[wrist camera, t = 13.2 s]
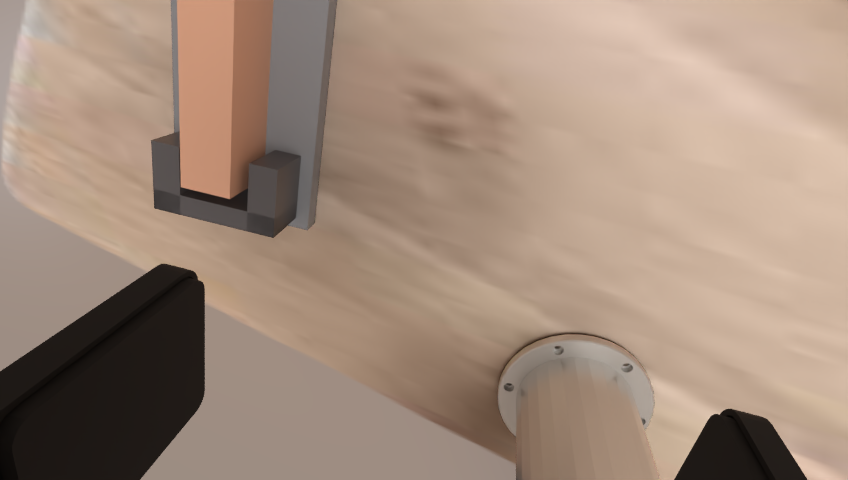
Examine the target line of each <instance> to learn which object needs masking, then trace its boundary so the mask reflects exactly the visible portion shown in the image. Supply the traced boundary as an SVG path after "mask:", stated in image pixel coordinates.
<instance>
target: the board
mask: <svg viewBox="0 0 848 480" xmlns="http://www.w3.org/2000/svg"><path fill="white" fill-rule="evenodd" d="M336 5H337V0H274V1H273V19H272V38H271V57H270V75H269V94H268V113H267V131H266V150H265V155H267V154H268V153H270V152H272V151H274V150H278V151H282V152H286V153H291V154H295V155H299V156H301V164H300V176H299V188H298V200H297V212H296V218H295V219H294V220H293V221H292V222H291V223H290V224H288V226H292V227H296V228H301V229H305V230H308V229H309V228H310V227H311V226H312V225H313V224H314V222H315V212H316V202H317V193H318V183H319V173H320V163H321V153H322V143H323V133H324V123H325V113H326V104H327V94H328V84H329V74H330V64H331V54H332V44H333V34H334V24H335V15H336ZM171 21H172V59H173V97H174V133H176V132H179V131H180V123H179V74H178V25H177V0H171Z"/></svg>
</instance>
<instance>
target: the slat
mask: <svg viewBox="0 0 848 480" xmlns="http://www.w3.org/2000/svg"><path fill="white" fill-rule="evenodd" d="M273 1H274V0H177V25H178V74H179V123H180V171H181V187H182V188H186V189H190V190H194V191H199V192H203V193H207V194H211V195H215V196H219V197H223V198H227V199H231V198H232V197H234V196H236V195H237V194H239V193H241V192H242V191H244V190H246V189H247V188H248V179H249V163H251V162H253V161H255V160H257V159H259V158H261V157H263V156H265V150H266V131H267V113H268V94H269V75H270V57H271V38H272V19H273Z"/></svg>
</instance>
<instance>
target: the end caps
mask: <svg viewBox="0 0 848 480" xmlns="http://www.w3.org/2000/svg"><path fill="white" fill-rule="evenodd" d="M151 145H152V166H153V188H154V208H155V209H159V210H163V211H167V212H171V213H175V214H179V215H183V216H187V217H191V218H196V219H200V220H204V221H208V222H212V223H216V224H220V225H224V226H228V227H232V228H236V229H240V230H244V231H248V232H252V233H256V234H260V235H264V236H268V237H272V238H274V237H275V236H276V235H277V234H278V233H279V232H280V231H282V230H283V229H284V228H285V227H286V226H287V225H288V224H290V223H291V222H292V221H293V220H294V219H295V218H296V212H297V200H298V188H299V176H300V164H301V156H299V155H295V154H291V153H286V152H282V151H278V150H274V151H272V152H270V153H268V154H267V155H265V156H263V157H261V158H259V159H257V160H255V161H253V162H251V163H249V179H248V188H247V189H246V190H244V191H242V192H241V193H239V194H237V195H236V196H234V197H232V198H231V199H227V198H223V197H219V196H215V195H211V194H207V193H203V192H199V191H194V190H190V189H186V188H182V187H181V171H180V131H179V132H176V133H173V134H170V135H167V136H163V137H160V138H157V139H154V140H151Z"/></svg>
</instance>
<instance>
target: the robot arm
mask: <svg viewBox="0 0 848 480" xmlns="http://www.w3.org/2000/svg"><path fill="white" fill-rule="evenodd" d="M204 314H205V289H204V284H203V282H201V281H199V280H198V278H197V275H196V273H195V272H194V271H191V270H187V269H184V268H180V267H176V266H172V265H168V264H161V265H158V266H157V267H155V268H154V269H152V270H151V271H149V272H148V273H146V274H145V275H143V276H142V277H140V278H139V279H137V280H136V281H134V282H133V283H131V284H130V285H128V286H127V287H125V288H124V289H122V290H121V291H120V292H118V293H116V294H115V295H113V296H112V297H110V298H109V299H107V300H106V301H104V302H103V303H101V304H100V305H98V306H97V307H96V308H94V309H92V310H91V311H90V312H88V313H87V314H85V315H84V316H82V317H81V318H79V319H78V320H76V321H75V322H73V323H72V324H70V325H69V326H67V327H66V328H64V329H63V330H61V331H60V332H58V333H57V334H55V335H54V336H52V337H51V338H49V339H48V340H46V341H45V342H43V343H42V344H40V345H39V346H37V347H36V348H34V349H33V350H32V351H30V352H29V353H27V354H26V355H24V356H23V357H21V358H19V359H18V360H17V361H15V362H14V363H12V364H11V365H9V366H8V367H6V368H5V369H3V370H2V371H0V480H140V479H141V478H142V477H143V475H144V474H145V473H146V472H147V470H148V469H149V468H150V467H151V466H152V464H153V463H154V462H155V461H156V459H157V458H158V457H159V456H160V455H161V453H162V452H163V451H164V450H165V449H166V447H167V446H168V445H169V444H170V443H171V441H172V440H173V439H174V438H175V437H176V435H177V434H178V433H179V432H180V431H181V429H182V428H183V427H184V426H185V424H186V423H187V422H188V421H189V420H190V418H191V417H192V416H193V415H194V414H195V412H196V411H197V410H198V408H199V406H200V405H201V402H202V400H203V397H204V391H205V385H204V384H205V381H204V380H205V377H204V376H205V366H204V365H205V362H204V361H205V360H204V359H205V358H204V353H205V352H204V350H205V348H204V347H205V344H204V343H205V335H204V333H205V322H204V321H205V320H204V319H205V315H204ZM654 404H655V402H654V392H653V389H652V386H651V383H650V380H649V378H648V376H647V374H646V372H645V370H644V368H643V367H642V365H641V364H640V363H639V362H638V360H637V359H636V358H635V357H634V356H632V355H631V354H630V353H629V352H628V351H626V350H625V349H624V348H622V347H620V346H618V345H616V344H614V343H612V342H610V341H607V340H604V339H601V338H598V337H594V336H588V335H582V334H565V335H558V336H552V337H548V338H545V339H542V340H539V341H536V342H534V343H532V344H531V345H529V346H527V347H525V348H523V349H522V350H521V351H520V352H518V353H517V354H516V355H515V356H514V357H513V358H512V359H511V360H510V361H509V363H508V364H507V365H506V367H505V369H504V371H503V372H502V374H501V377H500V381H499V385H498V407H499V411H500V414H501V417H502V420H503V421H504V423H505V425H506V426H507V428H508V429H509V431H510V432H511V433H512V434H513V435H514V436H515V437H516V480H661V479H660V476H659V473H658V470H657V467H656V464H655V461H654V458H653V454H652V451H651V448H650V445H649V442H648V439H647V436H646V433H645V429H646V428H647V427H648V425H649V423H650V420H651V418H652V416H653V410H654ZM674 480H807V478H806V477H805V475H804V473H803V472H802V470H801V469H800V467H799V466H798V464H797V463H796V461H795V460H794V458H793V456H792V455H791V453H790V452H789V450H788V449H787V447H786V446H785V444H784V443H783V441H782V439H781V438H780V436H779V435H778V433H777V432H776V430H775V429H774V427H773V425H772V424H771V423H770V422H769V421H768V420H767V419H766V418H763V417H760V416H757V415H753V414H749V413H745V412H741V411H737V410H733V409H726V410H724V411H723V412H722V413H721V414H720V415H718V414H714V415H712V416H711V417H710V418H709V420H708V421H707V423H706V425H705V427H704V428H703V430H702V432H701V434H700V435H699V437H698V439H697V441H696V442H695V444H694V446H693V448H692V449H691V451H690V453H689V455H688V456H687V458H686V460H685V462H684V463H683V465H682V467H681V469H680V471H679V472H678V474H677V476H676V478H675V479H674Z"/></svg>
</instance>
